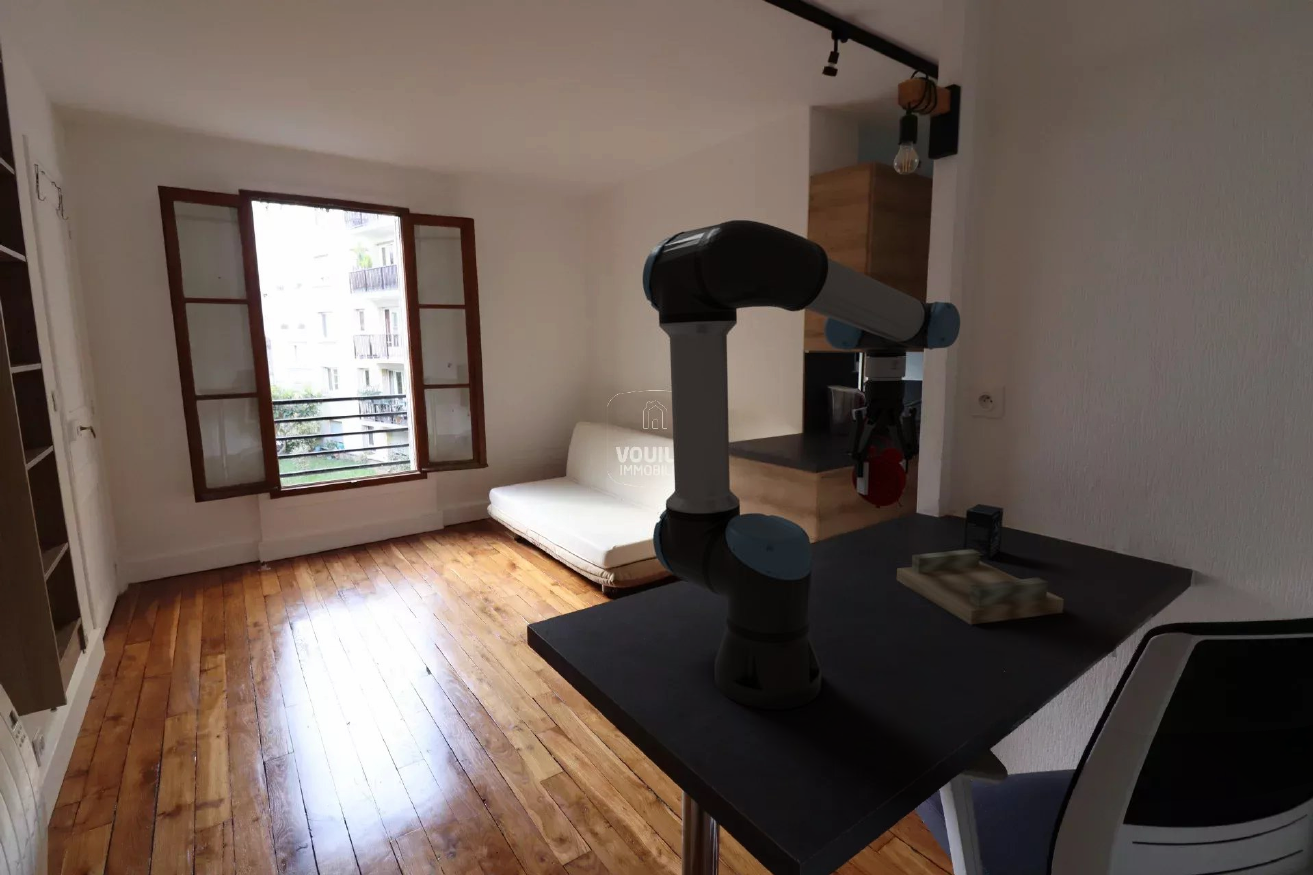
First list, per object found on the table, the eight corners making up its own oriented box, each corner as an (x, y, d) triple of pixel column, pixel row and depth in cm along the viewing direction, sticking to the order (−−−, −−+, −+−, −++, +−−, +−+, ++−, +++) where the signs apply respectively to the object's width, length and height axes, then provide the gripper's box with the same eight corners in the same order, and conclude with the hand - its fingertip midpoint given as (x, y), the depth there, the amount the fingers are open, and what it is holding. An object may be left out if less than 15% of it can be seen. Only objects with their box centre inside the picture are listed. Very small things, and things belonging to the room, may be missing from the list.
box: (989, 560, 136) (992, 514, 134) (962, 554, 140) (965, 509, 138) (1001, 551, 141) (1004, 507, 140) (974, 546, 145) (977, 503, 144)
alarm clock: (910, 508, 123) (914, 435, 121) (897, 514, 119) (901, 438, 117) (861, 500, 130) (864, 430, 128) (847, 505, 126) (850, 433, 124)
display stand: (970, 624, 105) (972, 594, 104) (896, 580, 125) (897, 554, 124) (1062, 612, 109) (1065, 582, 108) (976, 571, 129) (978, 546, 128)
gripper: (848, 381, 115) (845, 499, 118) (942, 378, 120) (936, 492, 123) (828, 379, 122) (825, 491, 125) (917, 377, 127) (912, 484, 130)
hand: (880, 491), depth 124 cm, fingers closed on alarm clock, 8 cm apart
